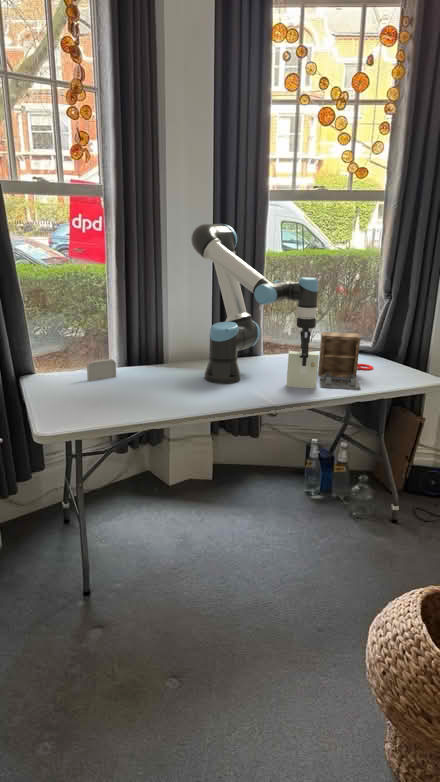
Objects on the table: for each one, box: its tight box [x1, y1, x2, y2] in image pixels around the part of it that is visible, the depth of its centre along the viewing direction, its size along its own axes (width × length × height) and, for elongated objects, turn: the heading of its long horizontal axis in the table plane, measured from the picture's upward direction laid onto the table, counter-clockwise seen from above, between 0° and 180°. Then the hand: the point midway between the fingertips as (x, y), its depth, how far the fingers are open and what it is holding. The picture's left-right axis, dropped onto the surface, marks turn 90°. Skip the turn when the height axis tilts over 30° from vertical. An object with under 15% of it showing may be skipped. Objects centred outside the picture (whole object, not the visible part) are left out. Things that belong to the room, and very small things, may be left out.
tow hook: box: [357, 346, 374, 371], centre depth 263 cm, size 8×13×9 cm
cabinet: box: [317, 331, 361, 379], centre depth 250 cm, size 16×8×18 cm, turn 83°
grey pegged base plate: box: [319, 372, 362, 391], centre depth 237 cm, size 16×10×4 cm, turn 83°
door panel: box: [285, 350, 320, 389], centre depth 232 cm, size 12×5×14 cm, turn 83°
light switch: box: [86, 358, 117, 382], centre depth 235 cm, size 2×12×8 cm, turn 125°
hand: (303, 369), depth 233 cm, fingers open, 13 cm apart
